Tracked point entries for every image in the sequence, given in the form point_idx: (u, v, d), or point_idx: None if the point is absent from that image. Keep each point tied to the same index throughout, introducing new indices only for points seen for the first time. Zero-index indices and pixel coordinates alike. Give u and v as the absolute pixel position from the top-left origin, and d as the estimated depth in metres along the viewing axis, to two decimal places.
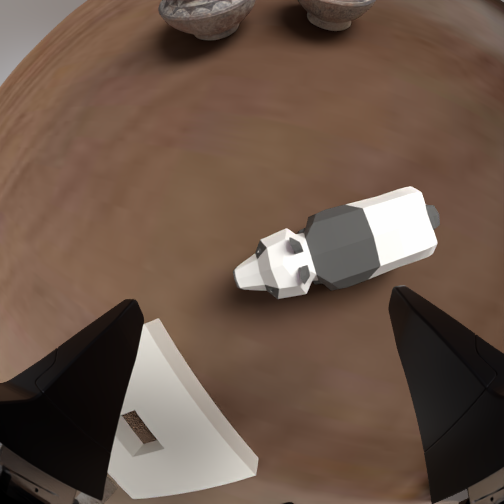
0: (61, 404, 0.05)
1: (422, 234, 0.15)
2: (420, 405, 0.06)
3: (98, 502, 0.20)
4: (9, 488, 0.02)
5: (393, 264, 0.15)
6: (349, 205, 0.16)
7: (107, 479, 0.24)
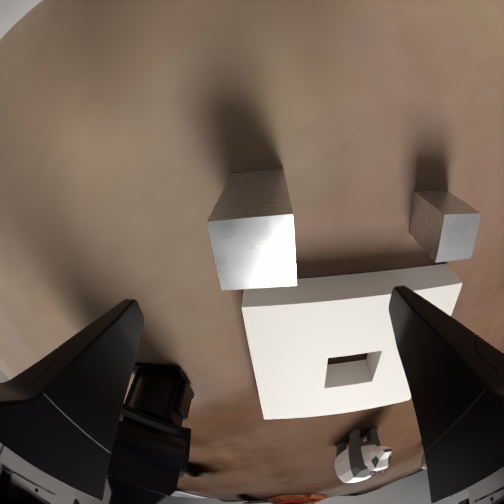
0: (61, 405, 0.05)
1: (350, 482, 0.32)
2: (420, 405, 0.06)
3: None
4: (9, 488, 0.02)
5: (349, 477, 0.31)
6: None
7: None
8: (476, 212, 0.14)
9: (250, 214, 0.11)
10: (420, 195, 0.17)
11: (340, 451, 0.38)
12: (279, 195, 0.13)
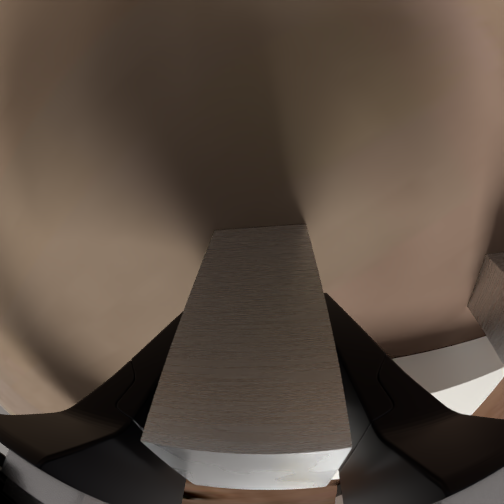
0: None
1: None
2: None
3: None
4: None
5: None
6: None
7: None
8: None
9: (244, 436, 0.04)
10: (496, 264, 0.09)
11: (341, 491, 0.31)
12: (312, 340, 0.05)
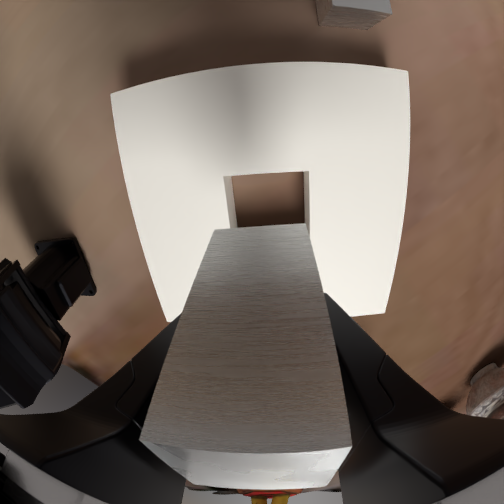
0: None
1: None
2: None
3: None
4: None
5: None
6: None
7: None
8: None
9: (243, 435, 0.04)
10: None
11: None
12: (311, 339, 0.05)
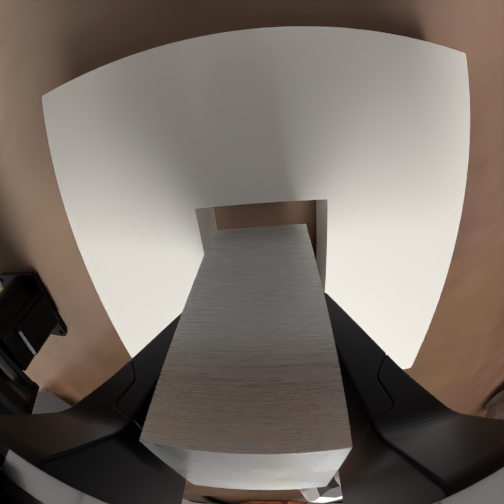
0: None
1: None
2: None
3: None
4: None
5: (314, 495, 0.20)
6: None
7: None
8: None
9: (243, 436, 0.04)
10: None
11: None
12: (312, 339, 0.05)
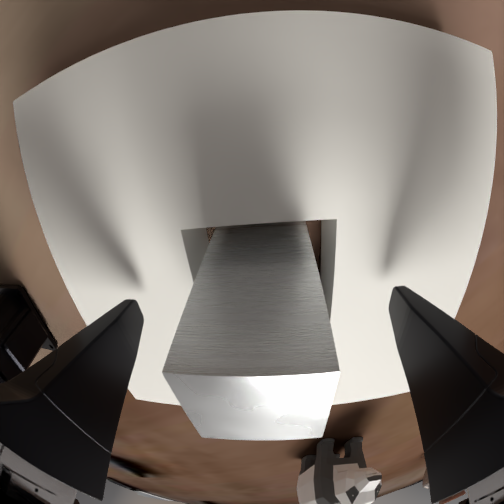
0: (61, 404, 0.05)
1: None
2: (420, 405, 0.06)
3: None
4: (9, 488, 0.02)
5: None
6: None
7: None
8: None
9: (250, 362, 0.05)
10: None
11: (305, 468, 0.25)
12: (305, 293, 0.07)
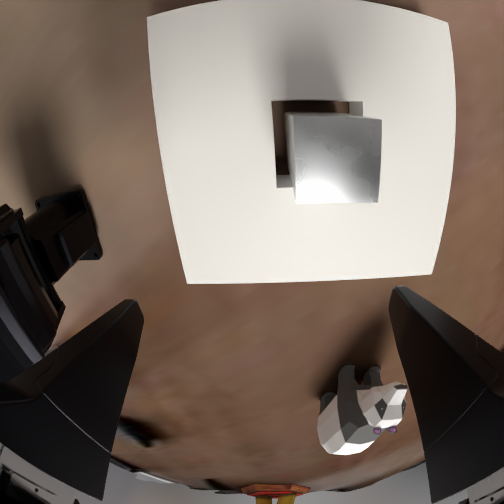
0: (61, 404, 0.05)
1: (340, 454, 0.23)
2: (420, 405, 0.06)
3: None
4: (9, 488, 0.02)
5: (339, 443, 0.23)
6: None
7: None
8: None
9: (338, 116, 0.09)
10: None
11: (325, 406, 0.29)
12: (353, 115, 0.11)
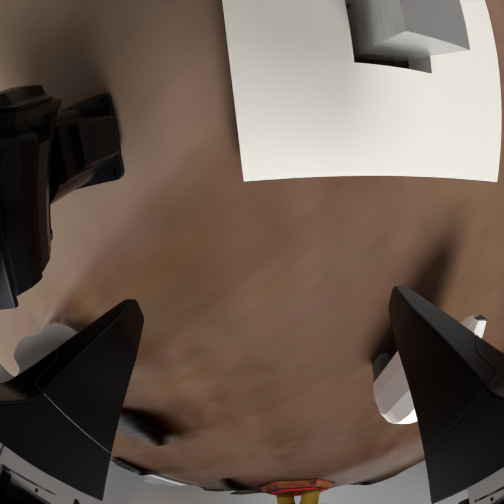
0: (61, 404, 0.05)
1: (407, 422, 0.19)
2: (420, 405, 0.06)
3: (391, 45, 0.09)
4: (9, 488, 0.02)
5: (409, 406, 0.18)
6: None
7: (380, 59, 0.13)
8: None
9: None
10: None
11: (381, 369, 0.25)
12: None
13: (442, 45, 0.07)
